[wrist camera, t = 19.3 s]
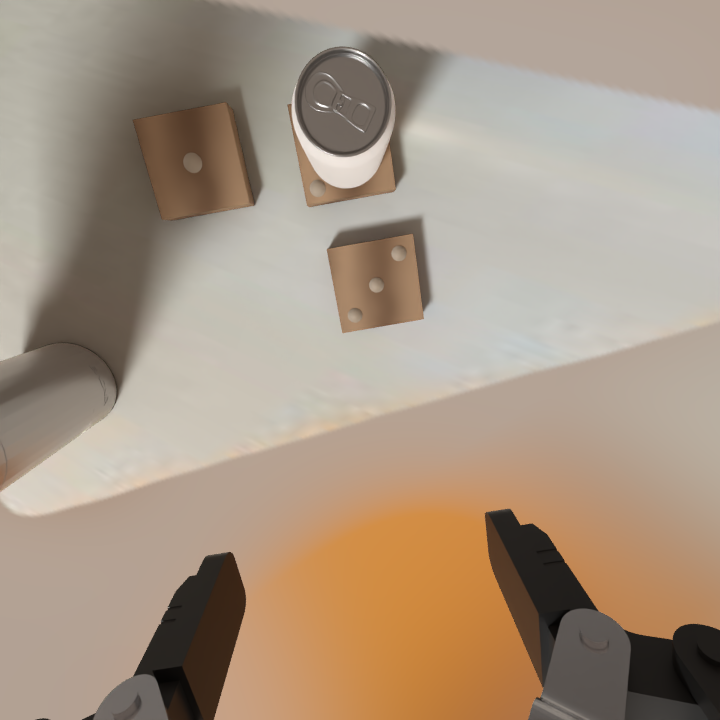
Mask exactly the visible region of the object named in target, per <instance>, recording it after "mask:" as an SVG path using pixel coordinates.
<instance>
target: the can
mask: <svg viewBox="0 0 720 720" xmlns="http://www.w3.org/2000/svg"><path fill="white" fill-rule="evenodd" d="M292 120H293V125H294V129H295V132H296V134H297V137H298V139H299V141H300V144H301V146H302V148H303V150H304V152H305V153H306V155H307V157H308V159H309V161H310V163H311V165H312V167H313V168H314V170H315V171H316V173H317V174H318V175H319V176H320V177H321V178H322V179H323V180H324V181H325V182H327V183H328V184H330V185H332V186H335V187H338V188H354V187H358V186H360V185H362V184H364V183H365V182H367V181H368V180H369V179H370V178H371V177H372V176H373V175H374V174H375V173H376V171H377V170H378V168H379V166H380V164H381V161H382V159H383V156H384V154H385V151H386V149H387V146H388V143H389V141H390V138H391V135H392V132H393V128H394V123H395V100H394V95H393V91H392V88H391V85H390V83H389V81H388V79H387V77H386V76H385V74H384V72H383V70H382V69H381V67H380V66H379V65H378V64H377V62H376V61H375V60H374V59H372V58H371V57H370V56H369V55H367V54H366V53H364V52H362V51H360V50H358V49H355V48H351V47H334V48H330V49H327V50H324V51H322V52H320V53H319V54H317V55H316V56H315V57H313V58H312V59H311V60H310V61H309V62H308V64H307V65H306V66H305V68H304V69H303V71H302V73H301V75H300V77H299V79H298V81H297V84H296V86H295V89H294V93H293V98H292Z"/></svg>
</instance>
